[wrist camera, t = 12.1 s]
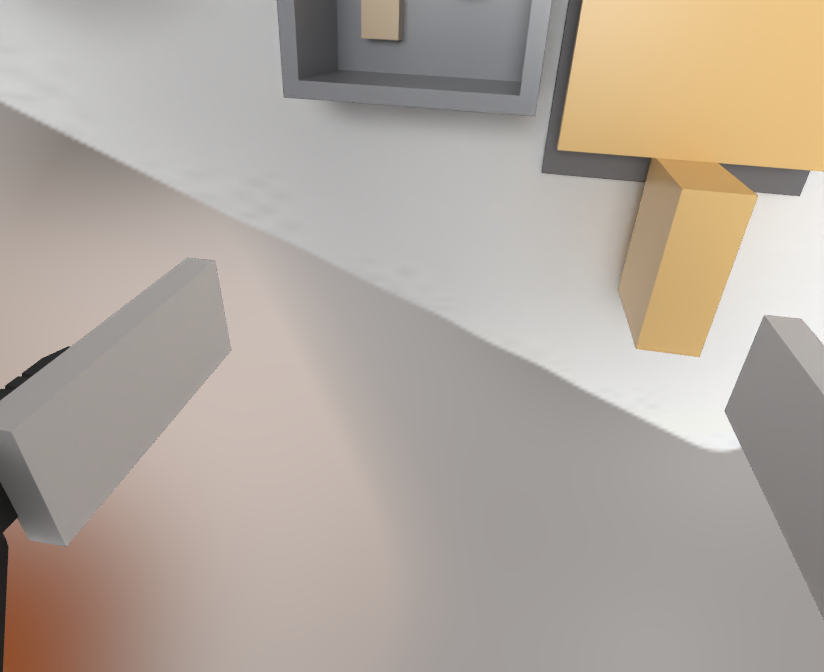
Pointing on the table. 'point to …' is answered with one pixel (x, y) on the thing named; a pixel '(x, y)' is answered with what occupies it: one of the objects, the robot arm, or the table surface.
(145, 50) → the table surface
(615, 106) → the amber lid
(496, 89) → the charcoal tub
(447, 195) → the table surface
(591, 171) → the grey rubber mat
